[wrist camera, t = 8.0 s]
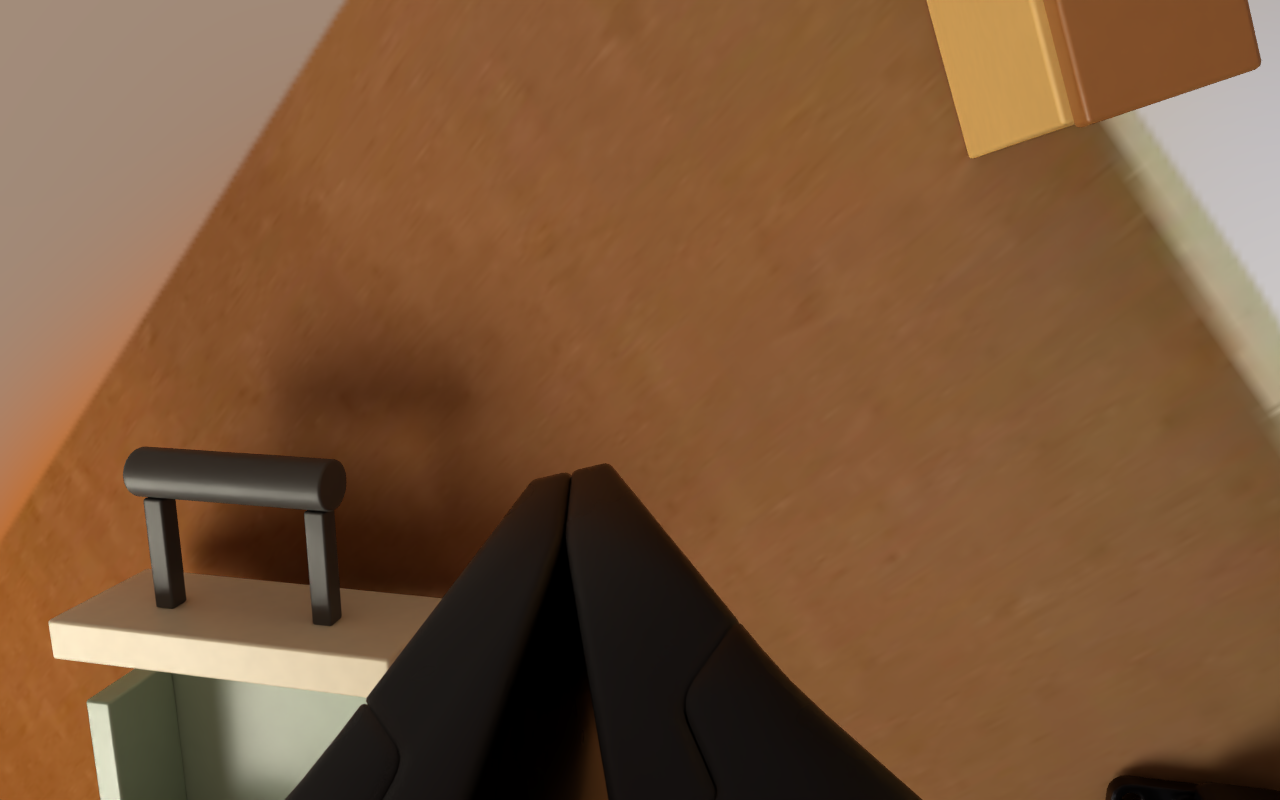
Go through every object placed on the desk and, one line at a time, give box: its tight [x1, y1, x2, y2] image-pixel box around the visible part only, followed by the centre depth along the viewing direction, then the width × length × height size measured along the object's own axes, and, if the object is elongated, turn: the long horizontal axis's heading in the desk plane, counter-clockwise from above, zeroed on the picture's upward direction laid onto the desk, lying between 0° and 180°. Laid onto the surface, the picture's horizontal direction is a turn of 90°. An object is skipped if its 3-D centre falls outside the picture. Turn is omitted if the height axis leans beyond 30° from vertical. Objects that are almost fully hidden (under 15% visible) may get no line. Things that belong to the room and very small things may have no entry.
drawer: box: [49, 447, 442, 800], centre depth 26 cm, size 15×10×4 cm
